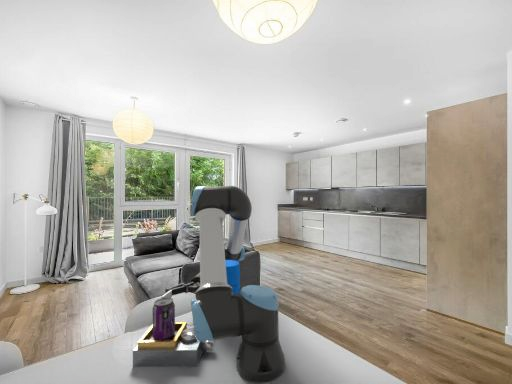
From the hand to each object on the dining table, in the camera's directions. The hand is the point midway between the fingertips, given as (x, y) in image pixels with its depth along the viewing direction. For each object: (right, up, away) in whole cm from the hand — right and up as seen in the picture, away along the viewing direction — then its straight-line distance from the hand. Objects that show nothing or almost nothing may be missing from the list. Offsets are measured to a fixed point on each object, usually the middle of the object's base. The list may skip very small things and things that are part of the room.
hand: (178, 301), depth 92 cm
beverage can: (-2, -8, -10) cm, 13 cm away
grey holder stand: (+3, -13, -10) cm, 17 cm away
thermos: (+18, -13, +8) cm, 23 cm away
